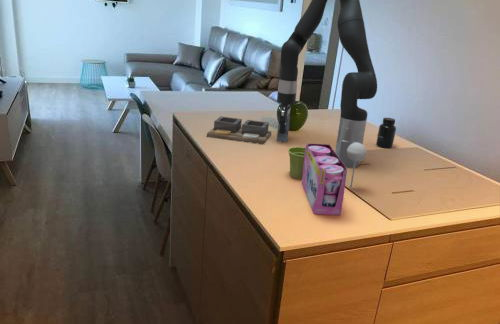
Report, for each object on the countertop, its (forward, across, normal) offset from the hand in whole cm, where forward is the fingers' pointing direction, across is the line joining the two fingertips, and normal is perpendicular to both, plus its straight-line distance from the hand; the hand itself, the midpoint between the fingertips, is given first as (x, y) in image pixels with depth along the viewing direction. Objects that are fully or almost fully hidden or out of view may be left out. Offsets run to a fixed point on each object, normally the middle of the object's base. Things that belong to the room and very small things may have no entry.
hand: (283, 131), depth 185 cm
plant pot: (+4, -38, -12) cm, 40 cm away
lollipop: (+4, -42, -29) cm, 51 cm away
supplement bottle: (+4, +12, -42) cm, 44 cm away
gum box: (+4, -54, -20) cm, 58 cm away
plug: (+4, 0, 0) cm, 4 cm away
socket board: (+4, -1, +18) cm, 18 cm away
